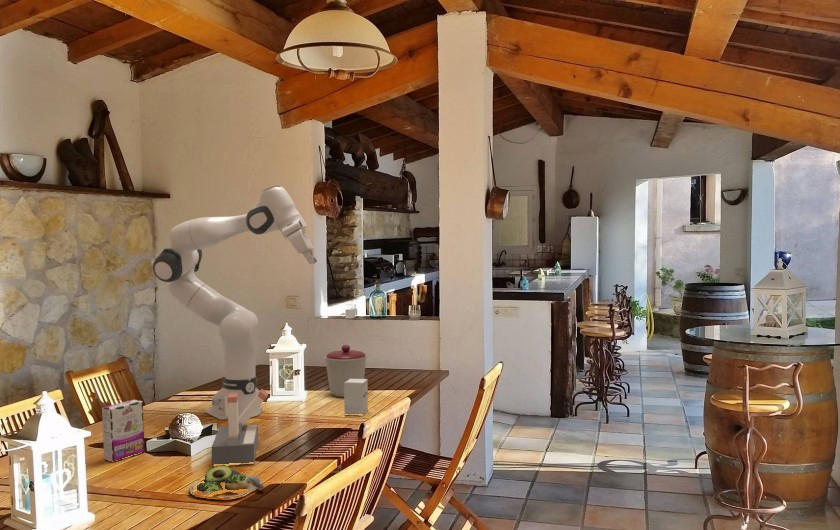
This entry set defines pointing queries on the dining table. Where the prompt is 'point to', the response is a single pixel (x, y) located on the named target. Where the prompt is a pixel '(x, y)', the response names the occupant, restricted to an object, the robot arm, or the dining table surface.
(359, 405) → the supplement box
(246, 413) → the lever
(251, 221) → the robot arm
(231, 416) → the lever
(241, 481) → the salad plate
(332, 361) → the canister
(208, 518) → the dining table surface
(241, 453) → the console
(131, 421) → the candy bar box
